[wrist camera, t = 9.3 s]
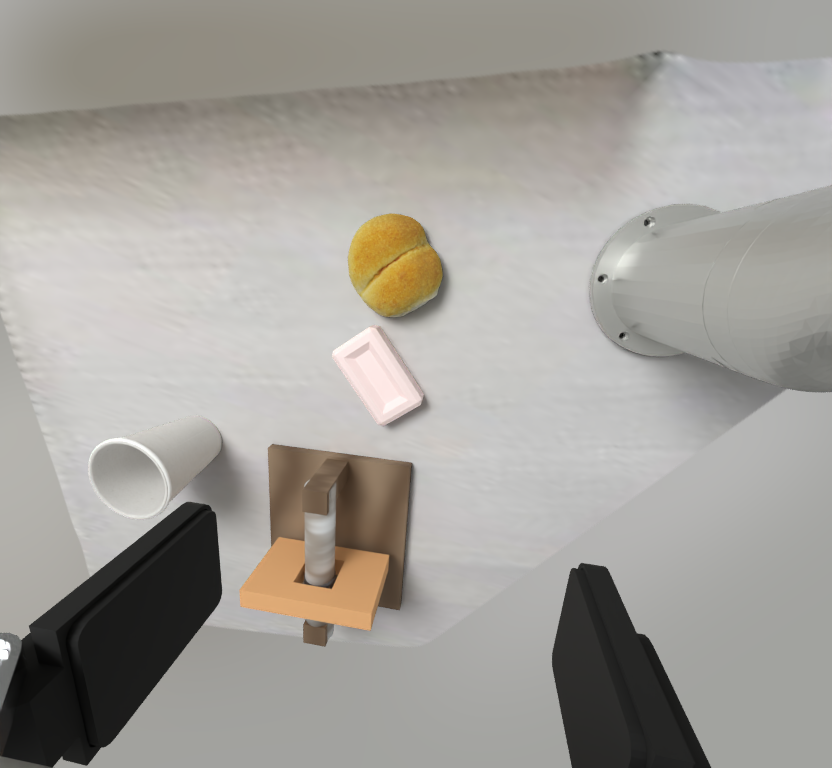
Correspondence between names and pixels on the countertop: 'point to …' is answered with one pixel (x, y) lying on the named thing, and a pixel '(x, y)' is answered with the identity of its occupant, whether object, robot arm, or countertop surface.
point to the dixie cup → (152, 465)
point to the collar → (285, 594)
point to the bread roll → (394, 265)
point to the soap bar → (378, 375)
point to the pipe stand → (339, 515)
